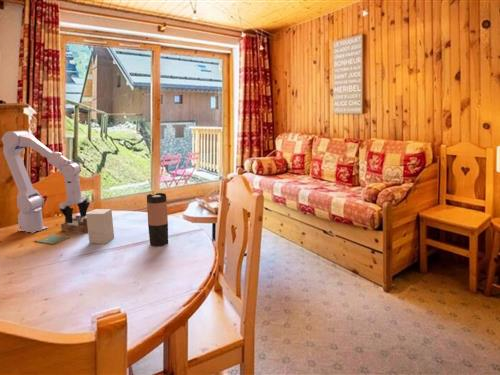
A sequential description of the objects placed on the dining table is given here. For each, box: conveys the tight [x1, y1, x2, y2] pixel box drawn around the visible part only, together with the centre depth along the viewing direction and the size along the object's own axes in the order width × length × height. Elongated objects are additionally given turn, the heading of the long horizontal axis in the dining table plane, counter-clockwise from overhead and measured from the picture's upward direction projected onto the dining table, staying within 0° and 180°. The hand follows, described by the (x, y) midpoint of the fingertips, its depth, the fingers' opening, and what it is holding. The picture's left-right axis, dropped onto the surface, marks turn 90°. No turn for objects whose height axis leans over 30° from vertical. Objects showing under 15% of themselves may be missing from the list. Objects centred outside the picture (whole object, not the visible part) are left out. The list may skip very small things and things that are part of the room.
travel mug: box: [146, 192, 169, 247], centre depth 137 cm, size 8×8×20 cm
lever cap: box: [68, 214, 86, 226], centre depth 153 cm, size 6×4×4 cm
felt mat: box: [36, 234, 70, 245], centre depth 142 cm, size 10×8×1 cm
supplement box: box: [86, 208, 115, 245], centre depth 141 cm, size 7×7×13 cm
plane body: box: [60, 217, 88, 234], centre depth 154 cm, size 13×5×6 cm, turn 72°
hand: (76, 220), depth 153 cm, fingers open, 7 cm apart
